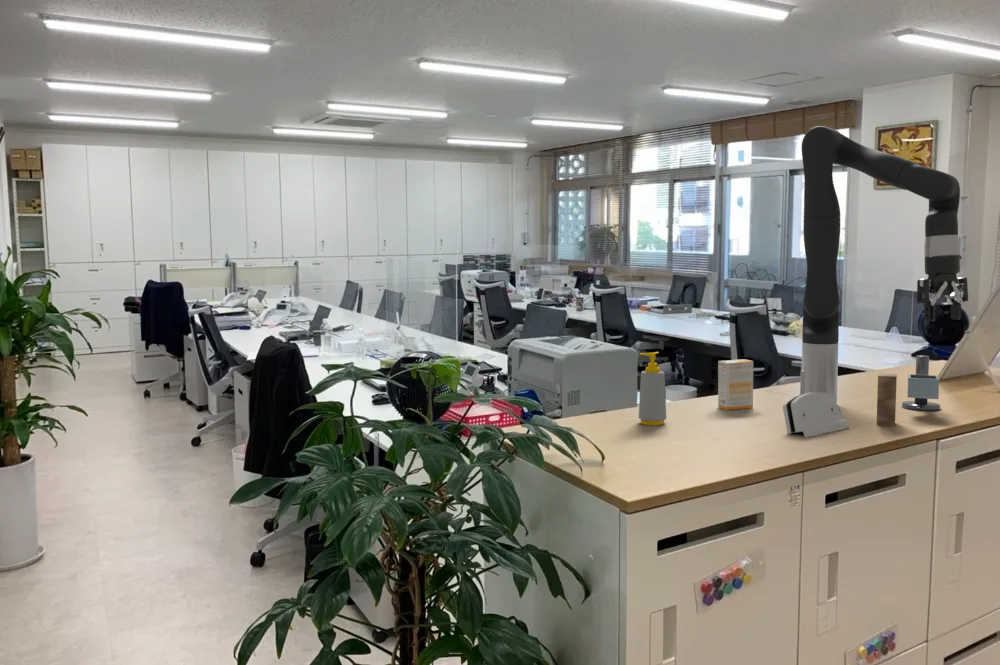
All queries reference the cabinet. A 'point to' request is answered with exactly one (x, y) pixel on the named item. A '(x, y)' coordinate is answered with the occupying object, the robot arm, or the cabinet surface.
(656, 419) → the soap bottle
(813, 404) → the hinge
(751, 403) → the supplement box
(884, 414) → the rail post
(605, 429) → the cabinet surface
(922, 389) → the cup bracket
